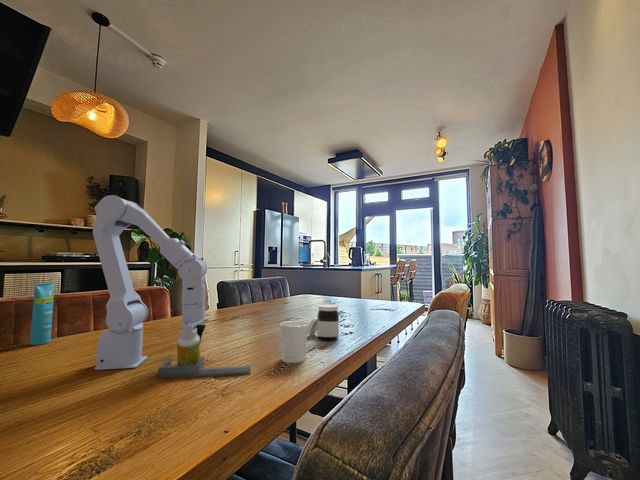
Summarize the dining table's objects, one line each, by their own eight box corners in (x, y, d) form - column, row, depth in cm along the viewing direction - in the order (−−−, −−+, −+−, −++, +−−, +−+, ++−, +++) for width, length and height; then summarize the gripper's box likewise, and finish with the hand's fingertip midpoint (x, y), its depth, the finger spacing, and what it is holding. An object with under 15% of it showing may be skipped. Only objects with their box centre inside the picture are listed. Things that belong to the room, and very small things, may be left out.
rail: (158, 378, 69) (158, 367, 69) (166, 368, 75) (167, 358, 76) (250, 373, 73) (250, 362, 73) (251, 363, 80) (251, 354, 80)
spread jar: (339, 342, 101) (339, 308, 102) (306, 342, 101) (306, 307, 102) (337, 333, 113) (337, 303, 114) (307, 333, 113) (308, 302, 114)
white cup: (311, 357, 86) (312, 322, 86) (298, 366, 79) (299, 328, 79) (288, 353, 89) (289, 319, 90) (273, 361, 82) (274, 324, 82)
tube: (41, 346, 92) (45, 283, 93) (22, 346, 91) (27, 283, 92) (56, 339, 99) (60, 281, 100) (39, 340, 98) (44, 281, 99)
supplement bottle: (189, 371, 75) (189, 337, 73) (172, 365, 76) (171, 331, 74) (204, 360, 80) (204, 327, 78) (188, 354, 81) (187, 322, 79)
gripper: (204, 306, 75) (205, 361, 74) (212, 298, 89) (213, 344, 88) (174, 308, 73) (174, 364, 73) (187, 299, 87) (188, 346, 87)
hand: (194, 353), depth 80 cm, fingers closed, pressing on supplement bottle
